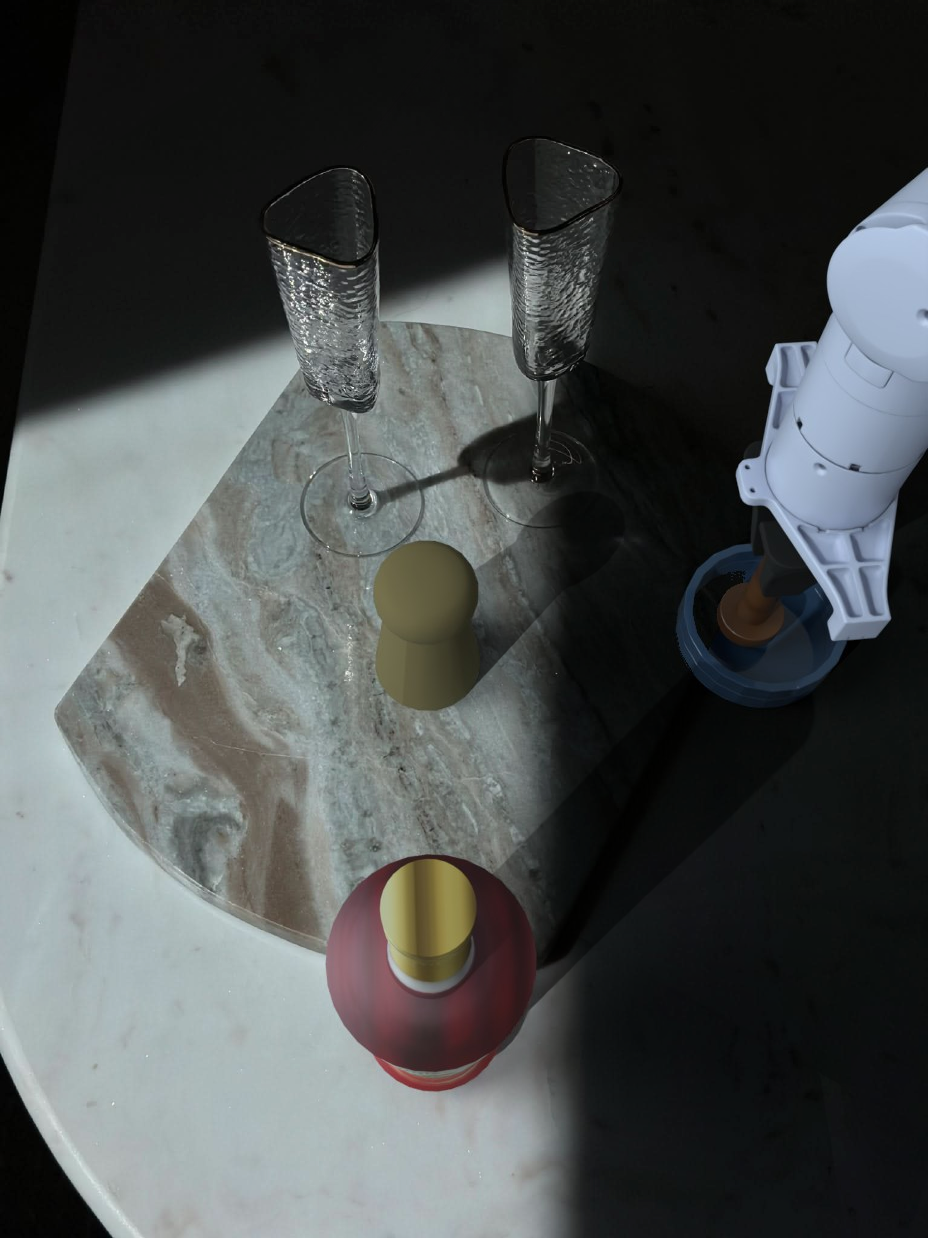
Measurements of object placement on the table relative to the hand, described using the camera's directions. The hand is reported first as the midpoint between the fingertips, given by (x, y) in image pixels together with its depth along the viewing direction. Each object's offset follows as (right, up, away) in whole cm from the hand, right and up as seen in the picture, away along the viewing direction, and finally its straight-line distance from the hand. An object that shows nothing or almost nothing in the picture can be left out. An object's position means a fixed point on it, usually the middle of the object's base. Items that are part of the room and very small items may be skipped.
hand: (775, 569), depth 59 cm
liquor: (-17, -22, -2) cm, 29 cm away
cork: (-18, -5, +6) cm, 20 cm away
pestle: (0, -3, +5) cm, 6 cm away
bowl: (+1, -4, +7) cm, 8 cm away
